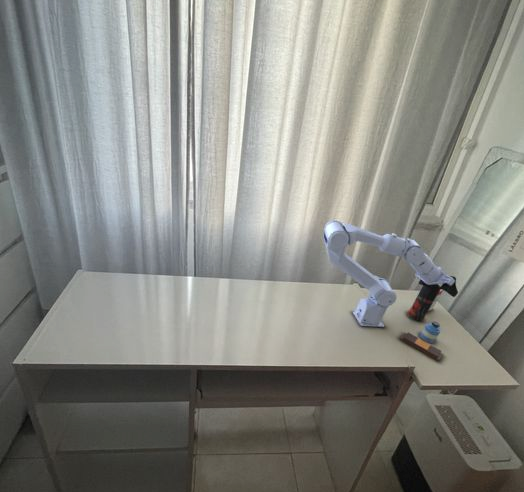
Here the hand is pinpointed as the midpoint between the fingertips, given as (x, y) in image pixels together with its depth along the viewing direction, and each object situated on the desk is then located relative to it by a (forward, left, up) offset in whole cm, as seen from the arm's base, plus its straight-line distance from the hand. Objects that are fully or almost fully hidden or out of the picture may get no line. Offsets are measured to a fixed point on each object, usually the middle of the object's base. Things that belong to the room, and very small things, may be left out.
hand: (446, 292), depth 111 cm
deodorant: (+1, +8, -17) cm, 19 cm away
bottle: (-2, -5, -17) cm, 18 cm away
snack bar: (-8, -10, -17) cm, 21 cm away
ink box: (+9, +14, -17) cm, 24 cm away
